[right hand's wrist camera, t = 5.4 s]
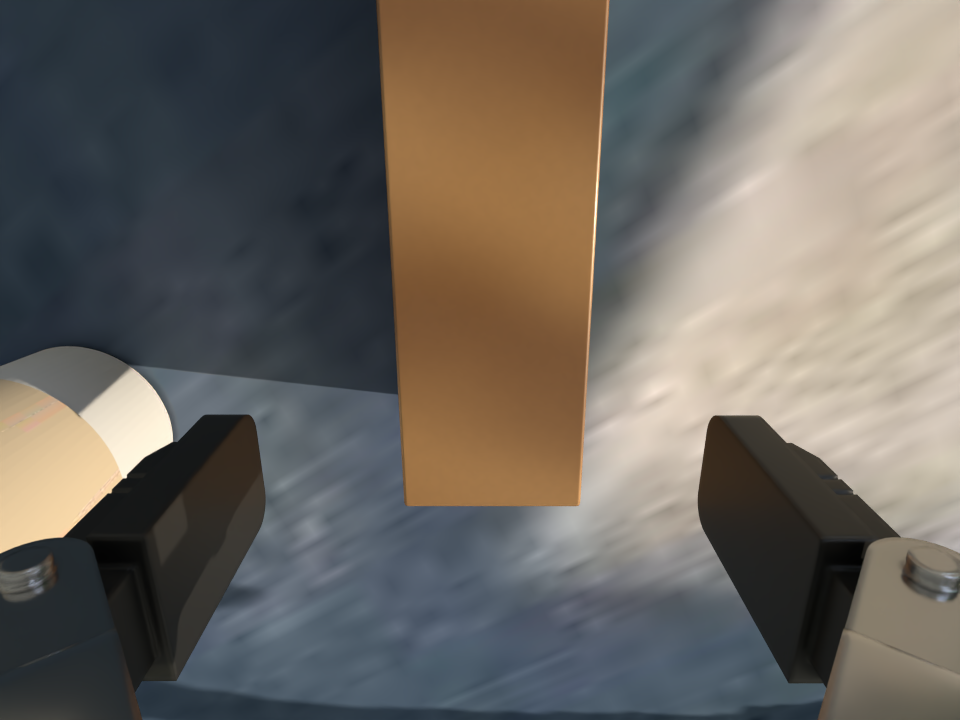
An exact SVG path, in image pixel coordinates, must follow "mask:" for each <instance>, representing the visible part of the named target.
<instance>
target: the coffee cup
mask: <svg viewBox="0 0 960 720" xmlns="http://www.w3.org/2000/svg"><path fill="white" fill-rule="evenodd" d="M171 442H173V434H172V427H171V423H170V419H169V416H168V413H167V411H166V408H165V406H164V404H163V402H162V401H161V399H160V397H159V396H158V394H157V393H156V391H155V390H154V389H153V388H152V386H151V385H150V384H149V383H148V382H147V381H146V380H145V379H144V378H143V377H142V376H141V375H140V374H139V373H138V372H137V371H135V370H134V369H133V368H131V367H130V366H129V365H127V364H125V363H124V362H122V361H120V360H119V359H117V358H115V357H113V356H110V355H108V354H106V353H103V352H100V351H97V350H93V349H89V348H83V347H75V346H62V347H54V348H49V349H45V350H42V351H39V352H37V353H34V354H31V355H29V356H26V357H23V358H21V359H18V360H15V361H13V362H10V363H8V364H5V365H2V366H0V553H2V552H5V551H7V550H9V549H12V548H14V547H17V546H20V545H23V544H26V543H30V542H33V541H37V540H42V539H48V538H57V537H64V536H65V535H66V534H67V533H68V532H69V531H70V530H71V529H72V528H73V527H74V526H75V525H76V524H77V523H78V522H79V521H80V520H81V519H82V518H83V517H84V516H85V515H86V514H87V513H88V512H89V511H90V510H91V509H92V508H93V507H94V506H95V505H96V504H97V503H98V502H99V501H100V500H101V499H102V498H103V497H104V496H105V495H106V494H108V493H112V489H113V488H114V487H115V486H116V485H117V484H118V483H119V482H120V481H121V480H122V479H123V478H127V474H128V473H129V472H130V471H131V470H132V469H133V468H134V467H135V466H136V465H137V464H138V463H139V462H140V461H141V460H142V459H143V458H144V457H146V456H148V455H149V454H151V453H153V452H155V451H157V450H159V449H160V448H162V447H164V446H166V445H168V444H170V443H171Z"/></svg>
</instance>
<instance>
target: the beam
mask: <svg viewBox="0 0 960 720" xmlns="http://www.w3.org/2000/svg"><path fill="white" fill-rule="evenodd" d="M376 8H377V26H378V43H379V61H380V79H381V97H382V114H383V132H384V150H385V167H386V185H387V203H388V221H389V238H390V256H391V274H392V292H393V309H394V327H395V345H396V362H397V380H398V398H399V416H400V433H401V451H402V469H403V486H404V503H405V505H406V506H578V505H579V504H580V495H581V478H582V461H583V443H584V426H585V409H586V392H587V375H588V358H589V341H590V323H591V306H592V289H593V272H594V255H595V238H596V220H597V203H598V186H599V169H600V152H601V135H602V118H603V100H604V83H605V66H606V49H607V32H608V15H609V0H376Z"/></svg>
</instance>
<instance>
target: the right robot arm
mask: <svg viewBox="0 0 960 720" xmlns="http://www.w3.org/2000/svg"><path fill="white" fill-rule="evenodd" d="M698 511H699V517H700V522H701V525H702V528H703V530H704V532H705V534H706V535H707V537H708V539H709V541H710V543H711V544H712V546H713V548H714V550H715V552H716V553H717V555H718V557H719V559H720V561H721V562H722V564H723V566H724V568H725V570H726V571H727V573H728V575H729V577H730V579H731V580H732V582H733V584H734V586H735V588H736V589H737V591H738V593H739V595H740V597H741V598H742V600H743V602H744V604H745V606H746V607H747V609H748V611H749V613H750V615H751V616H752V618H753V620H754V622H755V624H756V625H757V627H758V629H759V631H760V633H761V634H762V636H763V638H764V640H765V641H766V643H767V645H768V647H769V649H770V650H771V652H772V654H773V656H774V658H775V659H776V661H777V663H778V665H779V667H780V668H781V670H782V672H783V674H784V676H785V677H786V679H787V681H788V683H824V685H825V687H826V688H827V689H826V692H825V696H824V699H823V703H822V706H821V710H820V713H819V717H818V720H960V553H958V552H955V551H953V550H951V549H948V548H946V547H943V546H940V545H937V544H934V543H930V542H927V541H923V540H918V539H912V538H903V537H900V536H899V535H898V534H897V533H896V532H895V531H894V530H893V529H892V528H891V527H890V526H889V525H888V524H887V523H886V522H885V521H884V520H883V519H882V518H881V517H880V516H879V515H877V514H876V513H875V512H874V511H873V510H872V509H871V508H870V507H869V506H868V505H867V504H866V503H865V502H864V501H863V500H862V499H861V498H860V497H859V496H858V495H853V490H852V489H851V488H850V487H849V486H848V485H847V484H846V483H845V482H844V481H842V480H841V479H838V476H837V475H836V474H835V473H834V472H833V471H832V470H831V469H830V468H829V467H828V466H827V465H826V464H825V463H824V462H823V461H822V460H821V459H820V458H818V457H816V456H815V455H813V454H811V453H809V452H807V451H805V450H804V449H802V448H800V447H798V446H796V445H794V444H793V443H786V442H785V441H784V440H783V439H782V438H781V437H780V436H779V435H778V434H777V433H776V432H775V431H774V430H773V429H772V428H771V426H770V425H769V424H768V423H767V422H766V421H765V420H764V419H763V418H761V417H760V416H713V417H712V418H711V420H710V422H709V424H708V428H707V434H706V441H705V448H704V456H703V463H702V470H701V477H700V484H699V491H698ZM264 512H265V488H264V481H263V473H262V466H261V459H260V452H259V445H258V437H257V430H256V425H255V422H254V420H253V418H252V417H251V416H250V415H204V416H202V417H201V418H200V419H199V420H198V421H197V422H196V423H195V424H194V425H193V427H192V428H191V429H190V430H189V431H188V432H187V433H186V434H185V435H184V436H183V437H182V438H181V439H180V440H179V441H178V442H171V443H170V444H168V445H166V446H164V447H162V448H160V449H159V450H157V451H155V452H153V453H151V454H149V455H148V456H146V457H144V458H143V459H142V460H141V461H140V462H139V463H138V464H137V465H136V466H135V467H134V468H133V469H132V470H131V471H130V472H129V473H128V474H127V478H123V479H122V480H121V481H120V482H119V483H118V484H117V485H116V486H115V487H114V488H113V489H112V493H108V494H106V495H105V496H104V497H103V498H102V499H101V500H100V501H99V502H98V503H97V504H96V505H95V506H94V507H93V508H92V509H91V510H90V511H89V512H88V513H87V514H86V515H85V516H84V517H83V518H82V519H81V520H80V521H79V522H78V523H77V524H76V525H75V526H74V527H73V528H72V529H71V530H70V531H69V532H68V533H67V534H66V535H65V536H64V537H57V538H48V539H42V540H37V541H33V542H30V543H26V544H23V545H20V546H17V547H14V548H12V549H9V550H7V551H5V552H2V553H0V720H142V717H141V713H140V710H139V706H138V703H137V699H136V696H135V691H136V690H137V688H138V687H139V685H140V683H141V682H142V681H177V679H178V677H179V675H180V673H181V671H182V670H183V668H184V666H185V664H186V662H187V661H188V659H189V657H190V655H191V653H192V651H193V650H194V648H195V646H196V644H197V642H198V641H199V639H200V637H201V635H202V633H203V631H204V630H205V628H206V626H207V624H208V622H209V621H210V619H211V617H212V615H213V613H214V611H215V610H216V608H217V606H218V604H219V602H220V601H221V599H222V597H223V595H224V593H225V591H226V590H227V588H228V586H229V584H230V582H231V580H232V579H233V577H234V575H235V573H236V571H237V570H238V568H239V566H240V564H241V562H242V560H243V559H244V557H245V555H246V553H247V551H248V550H249V548H250V546H251V544H252V542H253V540H254V539H255V537H256V535H257V533H258V531H259V529H260V527H261V525H262V522H263V518H264Z"/></svg>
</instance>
